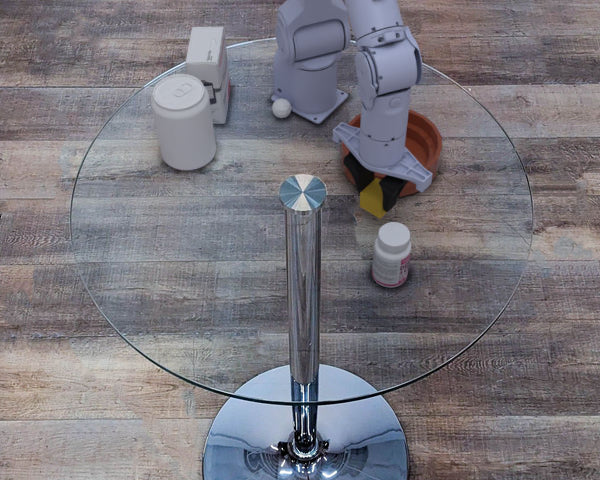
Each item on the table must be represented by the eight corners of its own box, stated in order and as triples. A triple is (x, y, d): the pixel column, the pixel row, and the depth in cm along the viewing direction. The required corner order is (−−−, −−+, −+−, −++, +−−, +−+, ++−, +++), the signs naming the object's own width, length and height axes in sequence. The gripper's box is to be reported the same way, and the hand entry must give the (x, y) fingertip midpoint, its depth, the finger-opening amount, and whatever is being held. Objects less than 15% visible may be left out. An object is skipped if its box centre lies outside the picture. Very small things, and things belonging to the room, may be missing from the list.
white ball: (293, 111, 134) (293, 96, 132) (287, 124, 133) (287, 109, 130) (276, 107, 135) (275, 92, 132) (270, 120, 133) (269, 105, 131)
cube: (359, 206, 119) (359, 192, 117) (375, 191, 121) (376, 177, 118) (380, 219, 118) (381, 205, 115) (396, 203, 119) (397, 190, 117)
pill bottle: (405, 291, 114) (410, 251, 107) (369, 285, 115) (372, 245, 108) (409, 263, 117) (415, 222, 110) (374, 257, 117) (378, 216, 111)
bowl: (321, 170, 127) (321, 148, 123) (377, 116, 133) (378, 93, 130) (403, 215, 122) (405, 193, 118) (457, 156, 128) (461, 133, 124)
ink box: (200, 86, 138) (191, 24, 128) (231, 86, 138) (224, 24, 128) (193, 124, 133) (183, 62, 123) (226, 124, 133) (218, 63, 123)
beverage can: (150, 155, 129) (136, 92, 120) (190, 126, 133) (180, 63, 123) (187, 181, 126) (176, 120, 116) (227, 151, 129) (220, 89, 120)
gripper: (451, 134, 106) (438, 208, 117) (357, 83, 111) (354, 158, 122) (416, 166, 103) (407, 239, 114) (322, 112, 108) (322, 187, 119)
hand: (377, 199), depth 118 cm, fingers closed on cube, 3 cm apart
